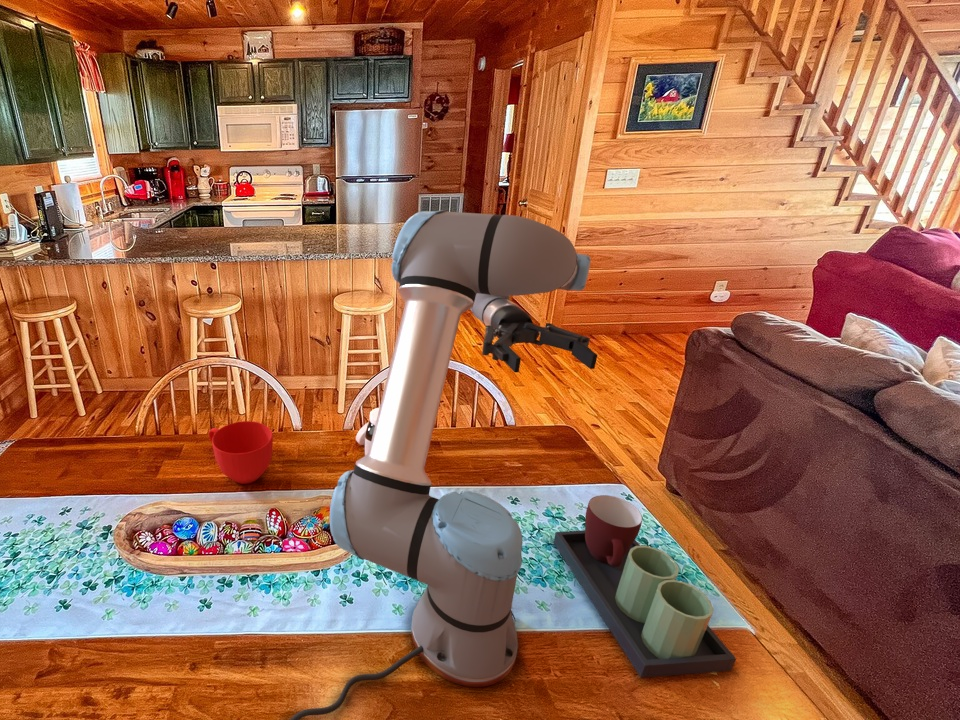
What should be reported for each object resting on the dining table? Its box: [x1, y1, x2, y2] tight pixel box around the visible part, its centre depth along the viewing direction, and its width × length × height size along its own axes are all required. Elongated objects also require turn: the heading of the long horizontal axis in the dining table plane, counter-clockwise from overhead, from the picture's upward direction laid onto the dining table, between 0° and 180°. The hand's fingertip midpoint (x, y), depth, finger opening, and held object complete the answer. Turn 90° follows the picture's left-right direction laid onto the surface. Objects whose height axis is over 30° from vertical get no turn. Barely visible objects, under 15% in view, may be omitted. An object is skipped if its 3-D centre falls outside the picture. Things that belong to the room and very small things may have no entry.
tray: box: [553, 529, 737, 679], centre depth 81 cm, size 13×25×3 cm, turn 3°
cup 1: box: [615, 545, 680, 623], centre depth 78 cm, size 6×6×10 cm
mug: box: [584, 494, 643, 567], centre depth 86 cm, size 10×8×10 cm
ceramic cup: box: [208, 420, 274, 485], centre depth 112 cm, size 13×17×10 cm
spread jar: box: [355, 406, 380, 456], centre depth 117 cm, size 12×11×12 cm
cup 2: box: [641, 579, 714, 659], centre depth 72 cm, size 6×6×10 cm
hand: (556, 363), depth 88 cm, fingers open, 13 cm apart
